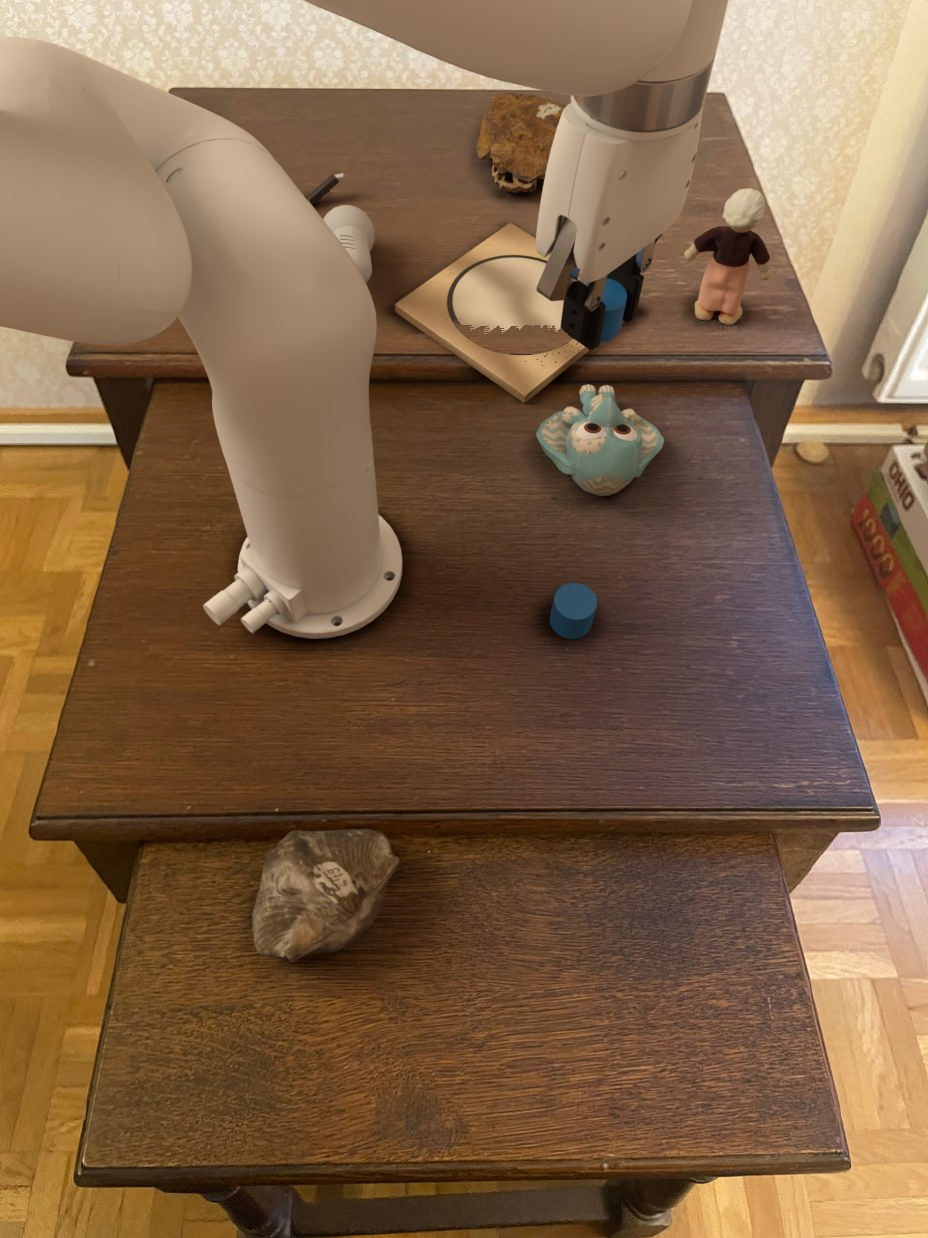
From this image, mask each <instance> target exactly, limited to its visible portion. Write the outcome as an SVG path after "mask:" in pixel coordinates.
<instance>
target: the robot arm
mask: <svg viewBox="0 0 928 1238" xmlns="http://www.w3.org/2000/svg"><path fill="white" fill-rule="evenodd" d="M303 1H305V2H306V3H308V4H311V5H312V6H315V7H316V8H319V9H322V10H324V11H327V12H328V13H332V14H334V15H335V16H336V15H337V16H339V17H342V18H344V19H346V20H349V21H350V22H351V21H352V22H353V23H356V24H358V25H360V26H362V27H364V28H367V29H369V30H372V31H374V32H375V33H378V34H381V35H383V36H385V37H386V38H389V39H392V40H394V41H396V42H398V43H401V44H402V45H405V46H407V47H409V48H411V49H414V50H416V51H418V52H420V53H422V54H425V55H427V56H429V57H432V58H435V59H436V60H438V61H440V62H444V63H447V64H449V65H452V66H454V67H457V68H459V69H462V70H465V71H467V72H470V73H473V74H476V75H480V76H483V77H485V78H488V79H493V80H496V81H499V82H503V83H508V84H514V85H518V86H521V87H526V88H529V89H535V90H539V91H543V92H549V93H553V94H557V95H565V96H570V103H568V104H566V105H567V106H566V107H565V108H564V109H563V112H562V115H561V118H560V121H559V124H558V127H557V130H556V133H555V137H554V140H553V144H552V147H551V151H550V156H549V160H548V164H547V169H546V174H545V180H543V184H542V191H541V196H540V197H541V198H540V203H539V209H538V217H537V224H536V231H535V238H536V251H537V253H539V254H540V255H542V256H543V257H544V258H545V257H546V256H548V255H549V254H550V253H551V255H550V257H549V259H548V262H547V264H546V266H545V269H544V271H543V273H542V275H541V278H540V280H539V282H538V285H537V289H536V290H537V292H539V293H540V294H541V295H543V296H544V297H546V298H547V299H549V300H550V301H561V300H564V303H563V310H562V318H561V329H562V330H563V332H565V333H566V334H567V335H569V336H570V337H571V338H573V339H574V340H576V341H578V342H579V343H580V344H582V345H583V346H585V347H586V348H588V349H589V351H590V352H591V351H593V352H594V351H595V350H596V349H597V348H598V347H599V346H600V343H601V342H600V337H601V332H602V326H603V321H604V315H605V309H606V305H605V304H604V303H603V302H602V301H601V299H602V295H603V291H604V288H605V284H606V280H607V278H608V279H612V280H615V281H617V282H618V283H620V284H621V285H622V286H623V287H624V288H625V290H626V292H627V300H626V305H625V310H624V315H623V321H624V322H625V323H630V322H632V320H634V319H635V318H636V316H637V312H638V308H639V304H638V303H639V302H640V299H641V294H642V288H643V285H644V279H645V276H644V275H643V274H644V273H645V272H647V271H648V269H649V268H650V267H651V265H652V262H653V260H654V259H653V257H654V252H655V251H654V250H655V245H656V244H657V242H658V240H659V239H660V238H662V237H663V234H664V233H665V232H666V231H668V230H669V229H670V228H671V227H672V226H673V225H674V224H675V223H676V221H677V220H678V219H679V217H680V216H681V214H682V212H683V209H684V207H685V203H686V200H687V196H688V193H689V190H690V187H691V181H692V178H693V177H692V176H693V172H694V169H695V163H696V157H697V154H698V153H697V152H698V148H699V141H700V135H701V127H702V120H703V111H704V110H703V109H704V105H705V101H706V97H707V94H708V93H707V92H708V88H709V84H710V80H711V75H712V72H713V68H714V63H715V59H716V56H717V50H718V46H719V43H720V38H721V34H722V29H723V25H724V20H725V15H726V12H727V8H728V4H729V0H303ZM305 197H306V196H304V194H303V193H302V192H301V191H300V189H299V188H298V186H297V185H296V184H295V182H294V181H293V180H292V179H291V177H290V176H289V174H287V172H286V171H285V170H284V169H283V167H282V166H281V165H280V164H279V162H278V161H277V160H276V158H275V157H274V156H273V155H272V154H271V153H270V152H269V150H267V148H265V146H264V145H263V144H262V143H261V142H260V141H259V140H258V139H256V137H254V136H253V135H252V134H251V133H249V132H248V131H246V130H245V129H244V128H242V127H240V126H239V125H237V124H235V123H233V121H230V120H228V119H226V118H225V117H223V116H220V115H218V114H217V113H215V112H212V111H211V110H207V109H206V108H204V107H201V106H199V105H197V104H195V103H192V102H190V101H188V100H185V98H181V97H179V96H177V95H174V94H172V93H170V92H168V91H166V90H163V89H161V88H159V87H158V86H157V87H156V86H154V85H152V84H151V83H147V82H145V81H143V80H141V79H139V78H136V77H134V76H132V75H129V74H127V73H125V72H123V71H121V70H119V69H116V68H114V67H112V66H109V65H107V64H105V63H103V62H101V61H98V60H96V59H94V58H92V57H89V56H86V55H85V54H82V53H79V52H77V51H76V50H72V49H70V48H67V47H65V46H62V45H60V44H56V43H51V42H49V41H45V40H41V39H37V38H31V37H30V38H29V37H23V36H0V327H1V328H6V329H10V330H11V329H12V330H16V331H21V332H26V333H30V334H34V335H38V336H39V335H40V336H44V337H49V338H53V339H58V340H63V341H68V342H72V343H80V344H89V345H99V346H100V345H101V346H122V345H130V344H135V343H139V342H143V341H147V340H149V339H151V338H153V337H156V336H158V335H159V334H161V333H162V332H163V331H164V330H166V329H167V328H168V327H170V326H171V325H172V324H173V323H174V322H175V321H176V320H177V319H178V320H179V322H180V323H181V325H182V327H183V329H184V330H185V331H186V333H187V335H188V336H189V339H190V340H191V342H192V344H193V346H194V348H195V350H196V352H197V355H198V357H199V358H200V360H201V363H202V365H203V367H204V370H205V373H206V375H207V378H208V381H209V384H210V388H211V392H212V393H211V395H212V396H211V407H212V408H211V409H212V415H213V421H214V425H215V430H216V434H217V437H218V440H219V445H220V449H221V451H222V454H223V458H224V460H225V463H226V466H227V469H228V474H229V476H230V480H231V483H232V487H233V490H234V493H235V498H236V501H237V504H238V508H239V511H240V515H241V519H242V521H243V525H244V528H245V532H246V536H247V537H246V538H245V540H244V542H243V543H242V547H241V549H240V552H239V555H238V564H237V573H236V574H234V575H233V578H234V581H233V582H231V584H230V585H228V586H227V587H226V588H224V589H221V590H220V591H219V592H218V593H216V594H215V595H214V596H212V598H210V599H208V600H207V601H206V602H205V603H204V604H203V605H202V607H203V610H204V611H205V613H206V614H207V615H208V617H209V618H210V619H211V620H212V621H213V622H214V623H215V624H216V625H218V626H222V625H223V624H224V623H225V622H226V621H228V620H229V619H230V618H232V616H234V615H236V613H238V612H239V611H240V608H242V607H243V606H244V605H246V604H247V605H248V607H249V608H250V609H251V610H250V611H248V612H247V613H246V614H244V615H243V616H242V617H241V618H240V622H241V623H242V624H243V626H244V627H245V629H247V630H248V631H249V632H250V633H251V634H255V632H257V631H258V630H259V629H260V628H261V627H263V626H264V625H268V626H269V627H272V628H273V629H275V630H277V631H279V632H281V633H283V634H287V635H289V636H293V637H297V638H303V639H313V640H314V639H315V640H317V639H330V638H337V637H340V636H345V635H347V634H350V633H352V632H355V631H358V630H360V629H362V628H364V627H365V626H367V625H368V624H371V623H372V622H373V621H374V620H375V619H377V618H378V617H379V616H380V615H381V614H383V613H384V611H385V610H386V609H387V608H388V607H389V605H390V604H391V603H392V601H393V600H394V599H395V598H394V597H395V596H396V595H397V593H398V590H399V587H400V584H401V581H402V576H403V553H402V548H401V545H400V541H399V539H398V536H397V535H396V533H395V531H394V530H393V528H392V526H391V524H389V523H388V522H387V520H385V519H384V517H383V516H382V515H380V514H379V504H378V493H377V492H378V491H377V481H376V480H377V479H376V468H375V456H374V444H373V432H372V431H373V430H372V425H371V411H370V374H371V368H372V363H373V357H374V353H375V347H376V341H377V330H378V325H377V324H378V323H377V322H378V321H377V312H376V308H375V304H374V300H373V297H372V294H371V291H370V289H369V287H368V285H367V283H366V282H365V280H364V278H363V276H362V275H361V273H360V271H359V269H358V268H357V266H356V264H355V262H354V261H353V259H352V258H351V256H350V255H349V253H348V252H347V250H346V249H345V248H344V246H343V245H342V243H341V242H340V241H339V239H338V238H337V237H336V235H335V234H334V233H333V232H332V230H331V229H330V228H329V227H328V225H327V224H326V223H325V222H324V220H323V219H324V218H322V216H321V215H320V214H319V212H318V210H316V209H315V207H314V205H311V203H310V202H309V201H308V200H307V199H306V198H305ZM580 270H581V271H580ZM579 271H580V275H579ZM578 276H580V280H581V281H579V280H578ZM584 283H589V285H588V286H587V285H585V284H584Z"/></svg>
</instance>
